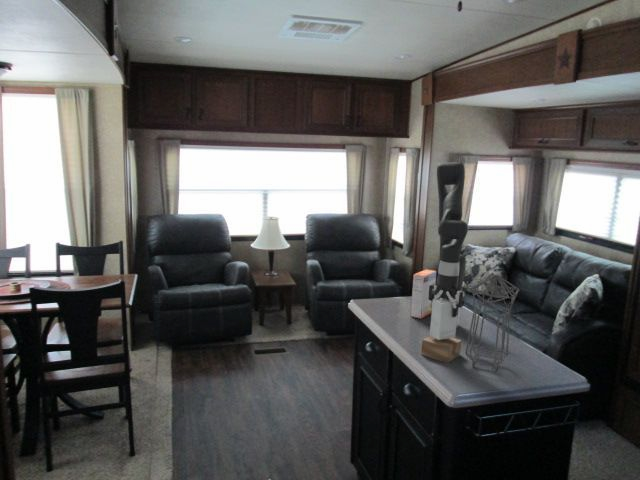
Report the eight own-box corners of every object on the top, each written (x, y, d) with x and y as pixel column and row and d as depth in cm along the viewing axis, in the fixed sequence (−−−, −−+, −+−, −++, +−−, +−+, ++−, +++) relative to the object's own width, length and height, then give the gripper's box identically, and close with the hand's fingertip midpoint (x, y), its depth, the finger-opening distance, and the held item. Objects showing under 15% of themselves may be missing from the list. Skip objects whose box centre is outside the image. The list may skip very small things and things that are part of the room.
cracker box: (422, 309, 259) (425, 268, 256) (433, 312, 256) (437, 270, 252) (409, 316, 248) (413, 273, 244) (421, 319, 245) (425, 275, 241)
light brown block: (434, 347, 211) (435, 332, 210) (460, 354, 204) (461, 340, 203) (421, 354, 203) (422, 339, 202) (447, 362, 196) (448, 347, 195)
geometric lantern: (469, 354, 205) (479, 267, 199) (511, 364, 198) (522, 274, 191) (458, 368, 192) (468, 275, 186) (503, 379, 184) (514, 282, 178)
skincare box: (445, 332, 207) (449, 296, 204) (456, 338, 202) (459, 300, 199) (428, 335, 203) (432, 298, 201) (438, 340, 198) (442, 302, 195)
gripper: (470, 274, 196) (466, 316, 199) (436, 267, 205) (432, 308, 208) (462, 278, 191) (457, 321, 194) (426, 270, 199) (423, 312, 202)
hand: (444, 314), depth 201 cm, fingers closed on skincare box, 7 cm apart
